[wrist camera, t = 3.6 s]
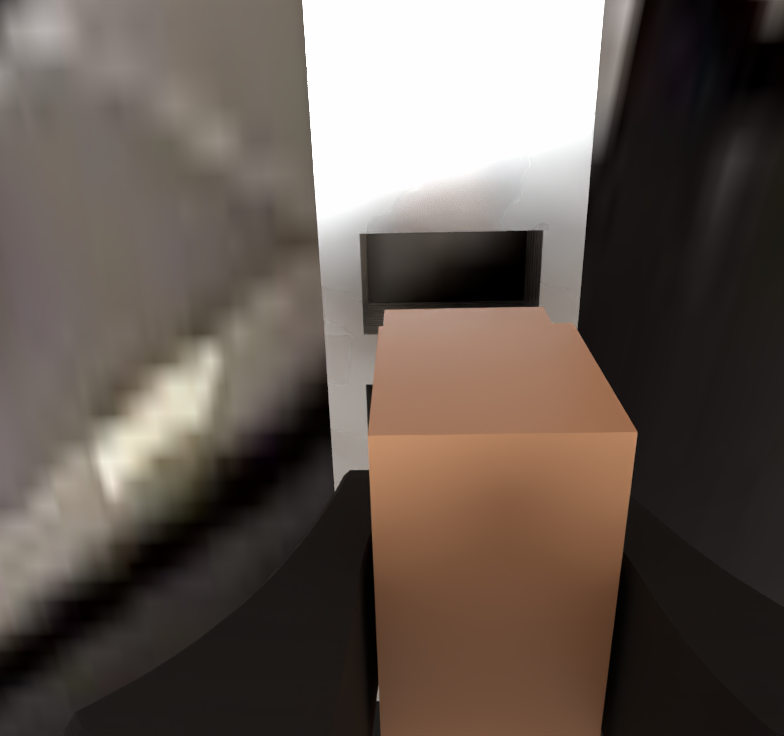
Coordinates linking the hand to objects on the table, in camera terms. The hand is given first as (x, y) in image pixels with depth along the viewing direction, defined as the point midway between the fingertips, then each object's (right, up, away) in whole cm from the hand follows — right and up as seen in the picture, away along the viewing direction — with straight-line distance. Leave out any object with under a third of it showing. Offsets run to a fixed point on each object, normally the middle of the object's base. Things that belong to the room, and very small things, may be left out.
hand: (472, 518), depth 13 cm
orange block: (0, +1, +2) cm, 3 cm away
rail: (0, +4, +9) cm, 9 cm away
